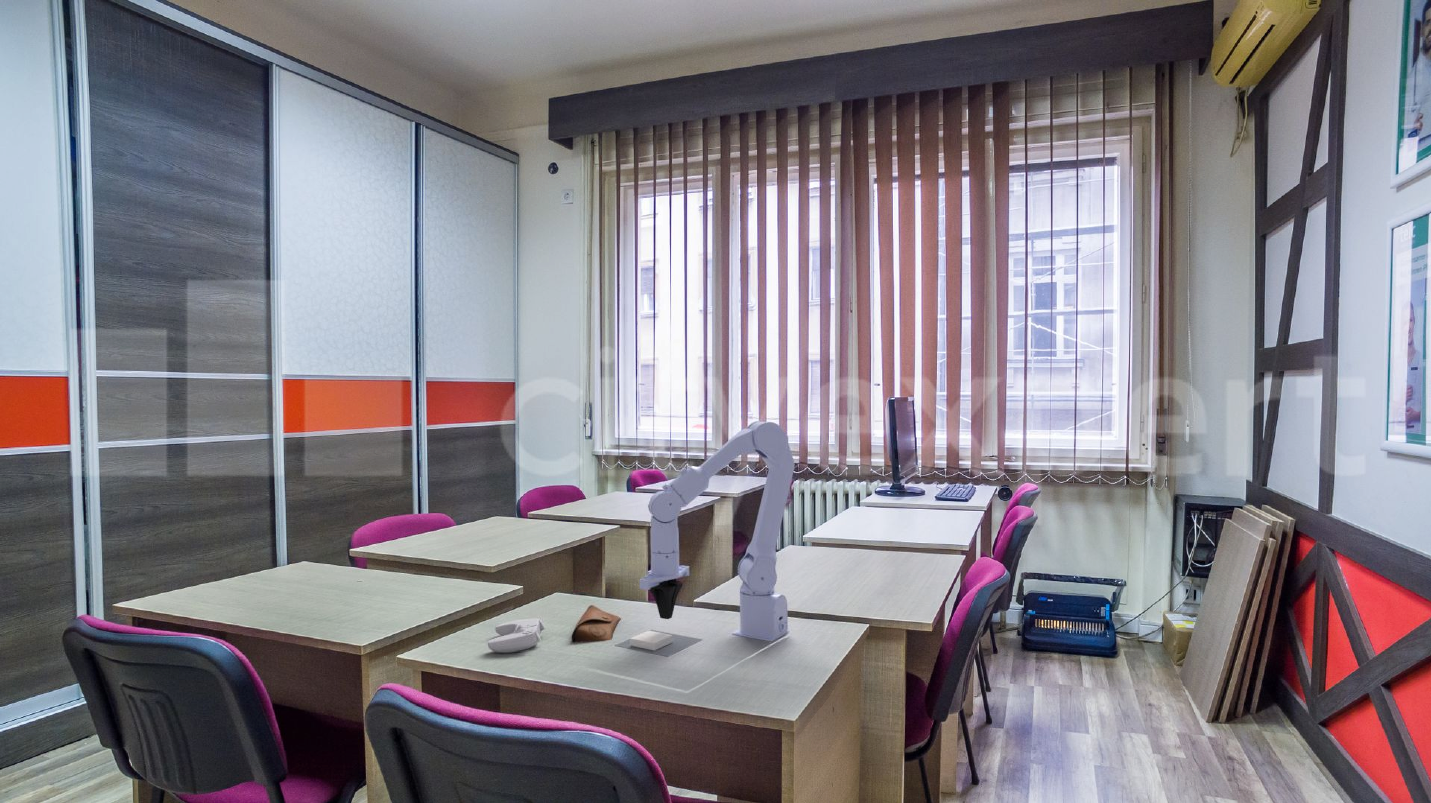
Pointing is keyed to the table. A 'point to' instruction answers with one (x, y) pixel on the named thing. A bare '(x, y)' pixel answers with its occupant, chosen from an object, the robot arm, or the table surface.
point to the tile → (651, 640)
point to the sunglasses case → (595, 626)
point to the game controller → (516, 635)
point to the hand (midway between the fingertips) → (666, 617)
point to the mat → (675, 646)
